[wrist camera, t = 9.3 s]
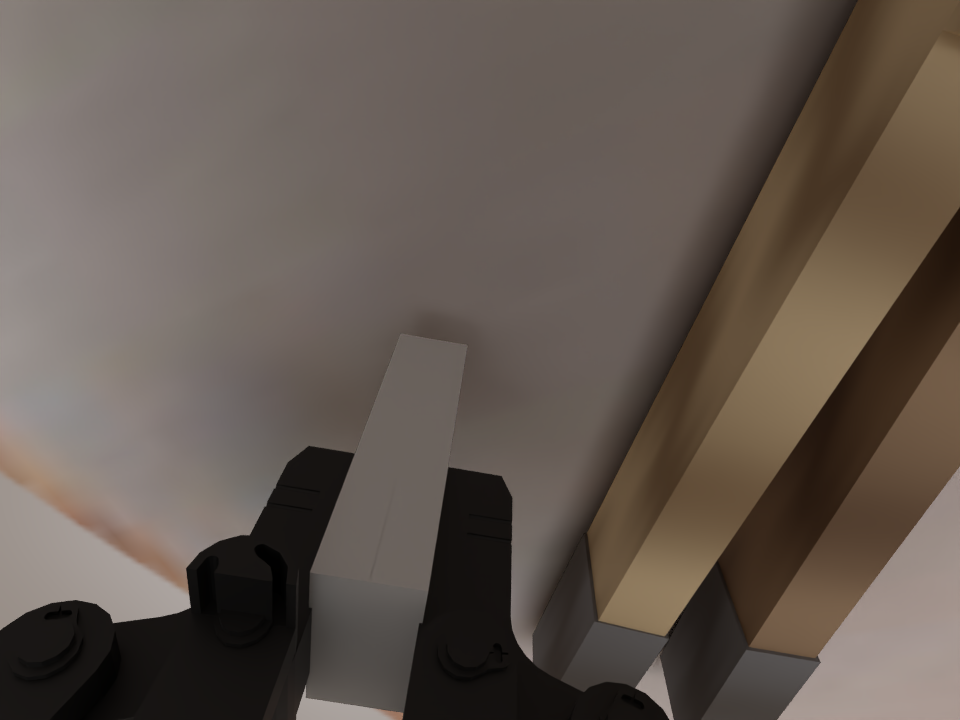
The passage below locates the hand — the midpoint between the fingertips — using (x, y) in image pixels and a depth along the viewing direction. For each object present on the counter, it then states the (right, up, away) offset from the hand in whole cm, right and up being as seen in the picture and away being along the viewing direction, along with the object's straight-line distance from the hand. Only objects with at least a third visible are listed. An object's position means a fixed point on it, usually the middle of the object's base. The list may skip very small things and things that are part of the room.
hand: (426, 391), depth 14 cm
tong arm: (+7, 0, +1) cm, 7 cm away
